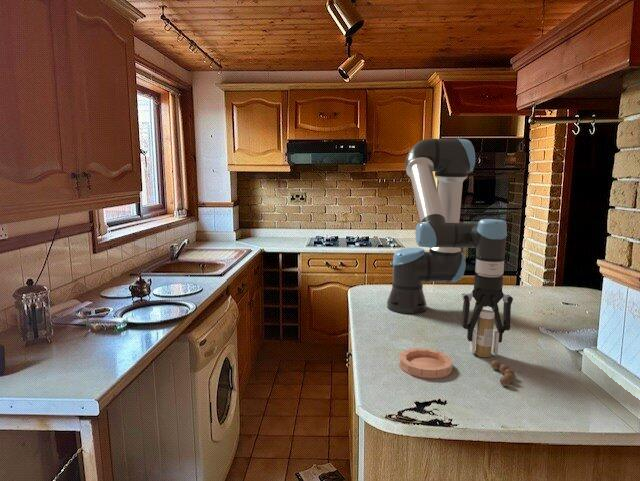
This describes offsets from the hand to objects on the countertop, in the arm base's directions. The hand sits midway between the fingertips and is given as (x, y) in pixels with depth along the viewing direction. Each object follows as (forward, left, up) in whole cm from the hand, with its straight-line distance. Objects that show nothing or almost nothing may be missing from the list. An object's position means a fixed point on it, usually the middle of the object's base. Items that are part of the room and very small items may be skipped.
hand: (483, 351), depth 124 cm
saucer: (+10, -18, -1) cm, 21 cm away
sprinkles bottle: (0, 0, -1) cm, 1 cm away
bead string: (+14, +1, -1) cm, 14 cm away
